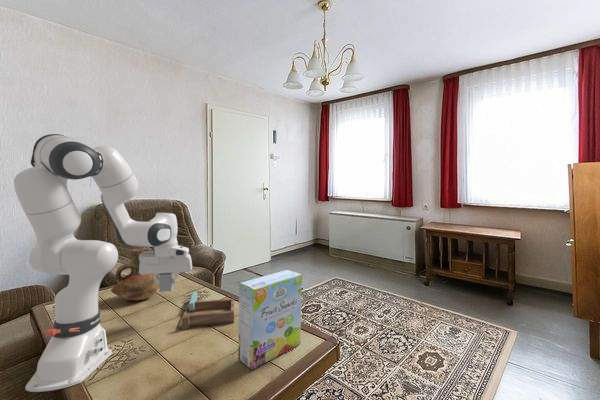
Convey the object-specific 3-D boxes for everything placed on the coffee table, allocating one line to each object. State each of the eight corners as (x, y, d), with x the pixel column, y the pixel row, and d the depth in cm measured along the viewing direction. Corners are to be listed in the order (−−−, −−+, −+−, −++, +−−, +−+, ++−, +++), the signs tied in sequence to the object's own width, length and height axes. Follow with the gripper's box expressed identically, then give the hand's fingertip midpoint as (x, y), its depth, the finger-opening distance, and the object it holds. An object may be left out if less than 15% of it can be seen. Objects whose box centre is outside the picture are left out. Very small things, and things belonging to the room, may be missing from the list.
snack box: (253, 372, 86) (252, 289, 85) (237, 360, 92) (236, 282, 91) (302, 344, 102) (302, 273, 100) (286, 335, 108) (285, 268, 106)
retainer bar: (193, 310, 126) (192, 303, 126) (189, 310, 126) (189, 303, 126) (197, 298, 140) (197, 291, 140) (193, 298, 139) (193, 292, 139)
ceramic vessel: (173, 298, 142) (172, 249, 141) (111, 310, 129) (109, 256, 127) (168, 288, 157) (167, 243, 156) (111, 298, 143) (110, 248, 142)
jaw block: (171, 291, 118) (171, 272, 117) (159, 291, 117) (159, 273, 116) (173, 287, 122) (173, 269, 122) (161, 288, 121) (161, 270, 121)
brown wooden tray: (233, 324, 116) (233, 313, 116) (178, 330, 111) (178, 319, 111) (234, 296, 145) (234, 288, 144) (190, 300, 140) (190, 291, 140)
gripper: (136, 253, 113) (136, 287, 114) (190, 251, 118) (190, 284, 118) (141, 250, 120) (141, 282, 120) (192, 248, 124) (192, 279, 124)
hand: (166, 283), depth 119 cm, fingers closed on jaw block, 4 cm apart
